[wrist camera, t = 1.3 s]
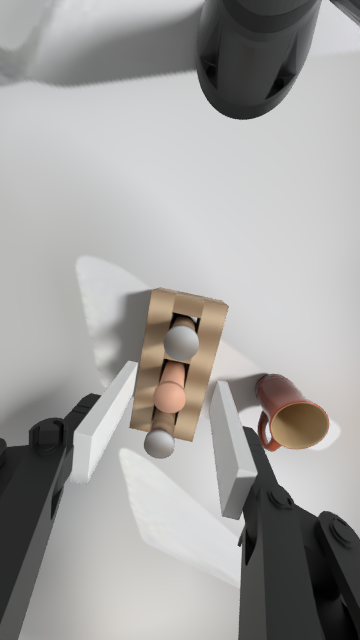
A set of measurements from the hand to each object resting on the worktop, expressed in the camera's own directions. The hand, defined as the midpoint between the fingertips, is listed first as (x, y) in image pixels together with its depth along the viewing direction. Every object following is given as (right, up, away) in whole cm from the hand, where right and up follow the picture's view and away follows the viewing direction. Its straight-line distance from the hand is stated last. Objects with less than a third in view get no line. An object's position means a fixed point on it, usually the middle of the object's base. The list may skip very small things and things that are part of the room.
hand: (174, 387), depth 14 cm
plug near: (+1, +4, +17) cm, 18 cm away
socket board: (0, -2, +24) cm, 24 cm away
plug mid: (0, -4, +19) cm, 20 cm away
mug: (+19, -10, +25) cm, 33 cm away
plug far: (-2, -11, +21) cm, 24 cm away
